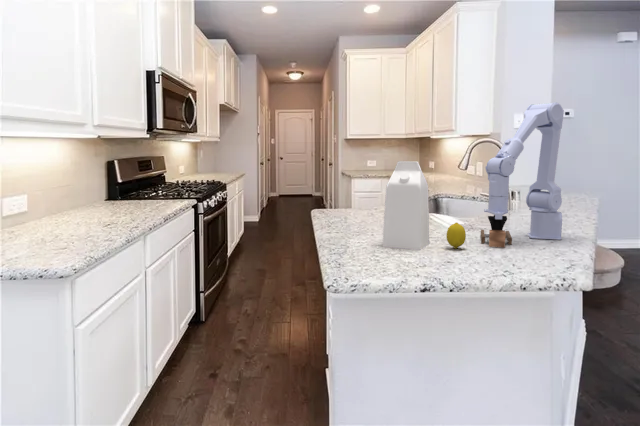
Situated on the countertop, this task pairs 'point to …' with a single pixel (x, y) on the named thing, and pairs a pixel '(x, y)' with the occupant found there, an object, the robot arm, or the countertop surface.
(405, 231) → the milk
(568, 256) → the countertop surface
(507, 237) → the channel
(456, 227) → the lemon
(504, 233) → the block
